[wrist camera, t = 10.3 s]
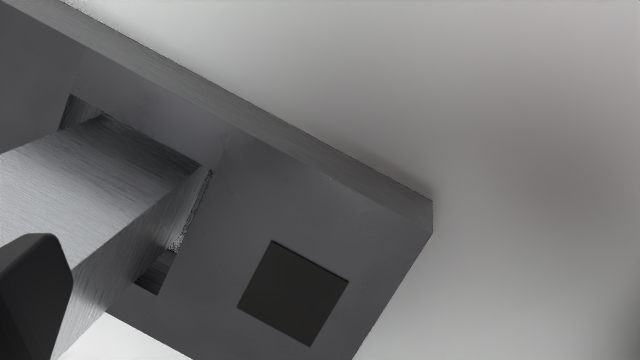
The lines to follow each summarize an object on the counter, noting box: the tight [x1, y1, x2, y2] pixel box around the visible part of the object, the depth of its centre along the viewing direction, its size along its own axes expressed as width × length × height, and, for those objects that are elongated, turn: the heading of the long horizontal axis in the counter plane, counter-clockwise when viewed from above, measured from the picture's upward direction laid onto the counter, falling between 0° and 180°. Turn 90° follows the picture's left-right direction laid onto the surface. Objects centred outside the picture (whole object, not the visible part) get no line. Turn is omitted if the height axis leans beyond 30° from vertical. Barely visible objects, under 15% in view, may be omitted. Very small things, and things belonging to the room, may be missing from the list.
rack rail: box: [0, 0, 433, 360], centre depth 22 cm, size 20×9×3 cm, turn 63°
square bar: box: [0, 113, 210, 360], centre depth 18 cm, size 4×4×13 cm
